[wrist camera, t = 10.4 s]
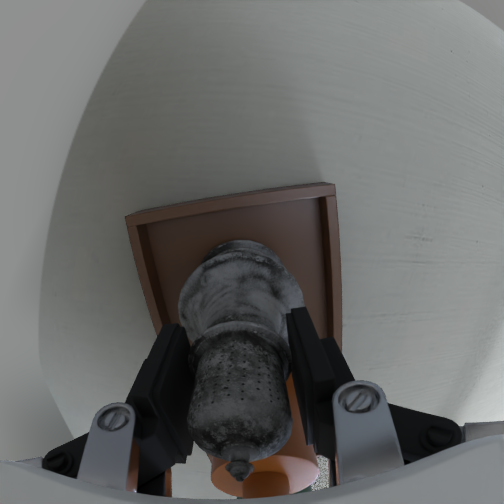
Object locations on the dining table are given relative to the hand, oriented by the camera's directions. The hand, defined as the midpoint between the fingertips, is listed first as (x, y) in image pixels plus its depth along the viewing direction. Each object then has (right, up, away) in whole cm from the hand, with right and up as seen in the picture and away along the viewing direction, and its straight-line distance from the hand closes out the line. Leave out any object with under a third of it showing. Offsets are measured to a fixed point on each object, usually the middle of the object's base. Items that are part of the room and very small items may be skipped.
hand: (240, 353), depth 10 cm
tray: (+1, -4, +9) cm, 10 cm away
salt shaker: (0, +2, +7) cm, 7 cm away
